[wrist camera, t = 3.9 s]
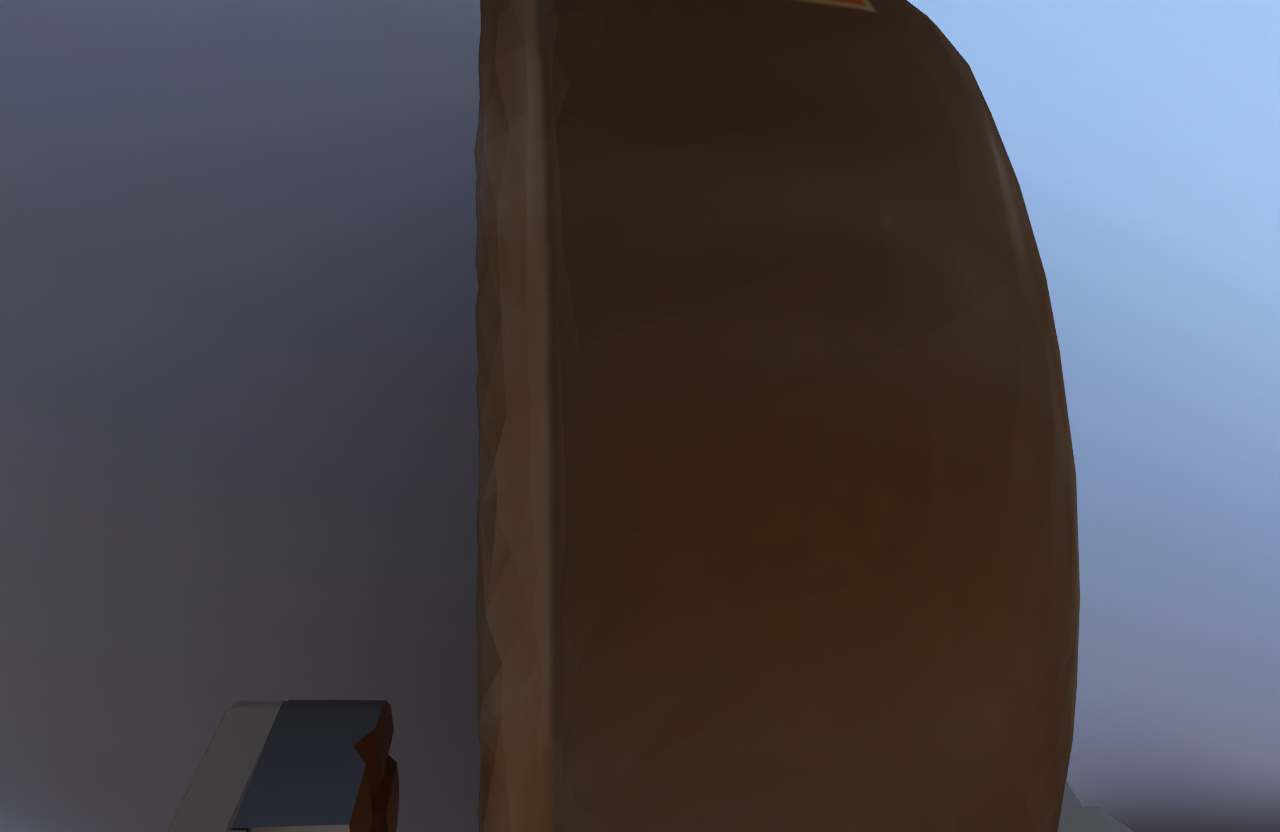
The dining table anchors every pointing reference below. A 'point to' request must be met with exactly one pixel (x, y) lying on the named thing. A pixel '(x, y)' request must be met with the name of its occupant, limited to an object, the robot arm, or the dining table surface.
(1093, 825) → the robot arm
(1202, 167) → the dining table surface
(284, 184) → the dining table surface
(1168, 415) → the dining table surface
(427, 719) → the dining table surface
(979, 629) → the tin
